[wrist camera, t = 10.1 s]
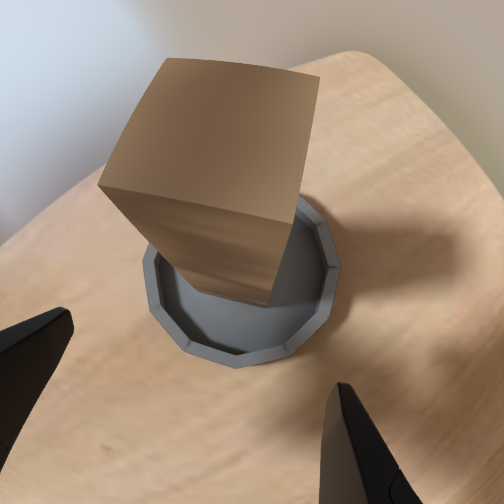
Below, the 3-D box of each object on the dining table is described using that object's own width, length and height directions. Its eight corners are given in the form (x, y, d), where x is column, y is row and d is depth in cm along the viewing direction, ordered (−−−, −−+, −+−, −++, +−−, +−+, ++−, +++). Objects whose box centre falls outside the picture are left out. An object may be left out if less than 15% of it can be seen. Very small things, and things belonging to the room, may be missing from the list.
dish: (347, 215, 20) (354, 205, 19) (304, 386, 17) (308, 389, 16) (188, 171, 21) (184, 159, 20) (128, 328, 18) (118, 326, 17)
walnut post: (279, 243, 19) (320, 77, 7) (265, 308, 18) (292, 224, 6) (216, 229, 19) (166, 57, 7) (198, 292, 18) (97, 185, 6)
